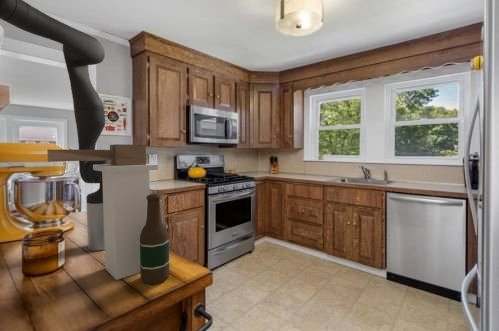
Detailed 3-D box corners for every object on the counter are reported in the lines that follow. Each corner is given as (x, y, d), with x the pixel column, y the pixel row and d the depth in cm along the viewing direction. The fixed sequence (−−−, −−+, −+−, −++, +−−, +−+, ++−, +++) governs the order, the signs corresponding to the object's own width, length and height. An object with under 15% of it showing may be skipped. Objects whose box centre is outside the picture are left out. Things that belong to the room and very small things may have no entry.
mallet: (47, 166, 68) (46, 143, 68) (137, 163, 83) (137, 145, 83) (49, 168, 62) (48, 143, 62) (146, 164, 77) (145, 144, 77)
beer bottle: (175, 277, 73) (173, 194, 72) (151, 289, 67) (149, 198, 66) (158, 269, 78) (156, 191, 76) (134, 280, 71) (132, 195, 70)
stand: (96, 269, 78) (93, 164, 76) (142, 255, 88) (140, 163, 86) (110, 284, 69) (106, 166, 67) (159, 267, 79) (157, 164, 77)
